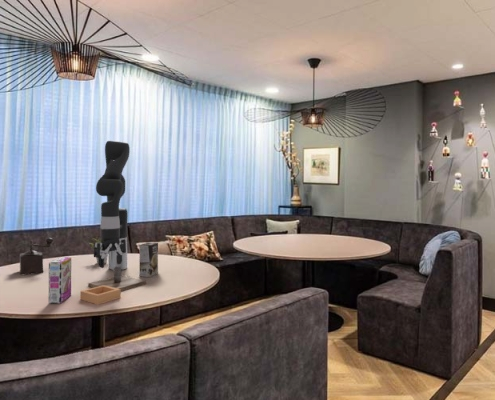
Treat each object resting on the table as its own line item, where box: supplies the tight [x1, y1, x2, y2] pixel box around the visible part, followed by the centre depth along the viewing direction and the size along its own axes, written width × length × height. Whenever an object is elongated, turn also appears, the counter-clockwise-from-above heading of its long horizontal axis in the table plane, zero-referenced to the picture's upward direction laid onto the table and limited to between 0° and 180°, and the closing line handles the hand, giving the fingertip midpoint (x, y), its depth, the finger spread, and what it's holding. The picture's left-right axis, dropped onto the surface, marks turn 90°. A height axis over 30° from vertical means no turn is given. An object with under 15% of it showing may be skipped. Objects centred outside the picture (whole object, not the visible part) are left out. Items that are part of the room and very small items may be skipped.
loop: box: [79, 285, 122, 306], centre depth 156 cm, size 11×11×4 cm
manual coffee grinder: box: [19, 237, 54, 275], centre depth 200 cm, size 16×11×18 cm
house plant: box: [88, 236, 109, 264], centre depth 224 cm, size 14×14×16 cm
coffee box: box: [138, 242, 159, 278], centre depth 196 cm, size 9×6×16 cm
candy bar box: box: [48, 256, 72, 305], centre depth 154 cm, size 11×5×16 cm, turn 5°
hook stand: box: [87, 266, 147, 292], centre depth 176 cm, size 18×18×9 cm
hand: (110, 265), depth 159 cm, fingers open, 8 cm apart
